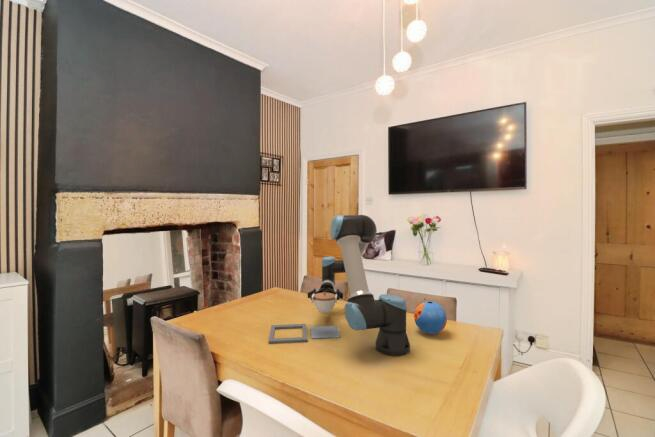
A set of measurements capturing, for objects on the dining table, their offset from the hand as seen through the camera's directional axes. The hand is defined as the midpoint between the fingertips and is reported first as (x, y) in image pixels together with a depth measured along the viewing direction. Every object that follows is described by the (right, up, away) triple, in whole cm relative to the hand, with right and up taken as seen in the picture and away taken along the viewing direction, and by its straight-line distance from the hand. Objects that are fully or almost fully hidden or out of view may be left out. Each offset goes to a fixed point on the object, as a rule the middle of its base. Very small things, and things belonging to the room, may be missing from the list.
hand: (324, 300), depth 154 cm
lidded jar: (0, -7, +4) cm, 8 cm away
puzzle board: (-18, -17, +3) cm, 25 cm away
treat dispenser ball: (+53, -17, +4) cm, 56 cm away
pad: (0, -17, +5) cm, 18 cm away
